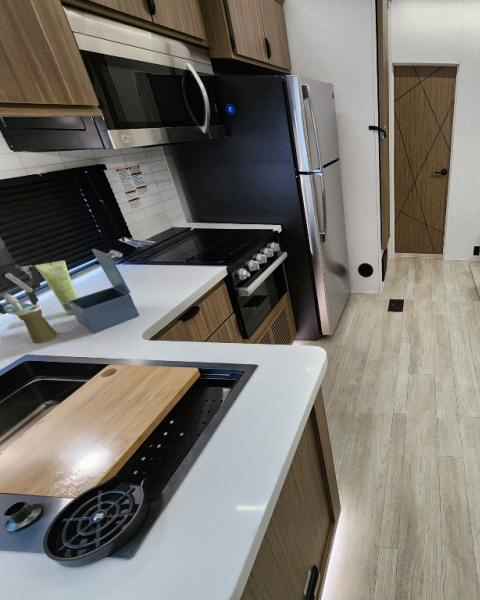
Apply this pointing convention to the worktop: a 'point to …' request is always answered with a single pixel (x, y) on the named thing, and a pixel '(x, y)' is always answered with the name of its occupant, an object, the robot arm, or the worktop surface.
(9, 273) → the robot arm
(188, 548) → the worktop surface
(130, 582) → the worktop surface
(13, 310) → the pacifier
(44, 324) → the cork
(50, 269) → the tube
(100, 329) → the blue-grey open box
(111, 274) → the hinged box lid
